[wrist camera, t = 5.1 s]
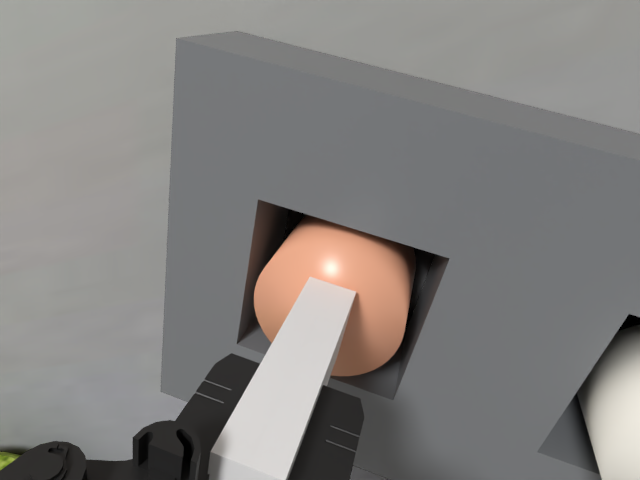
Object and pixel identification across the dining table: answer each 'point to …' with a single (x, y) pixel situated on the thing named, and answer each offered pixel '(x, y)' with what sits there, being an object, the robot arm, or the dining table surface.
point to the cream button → (615, 407)
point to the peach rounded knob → (348, 272)
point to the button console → (413, 230)
